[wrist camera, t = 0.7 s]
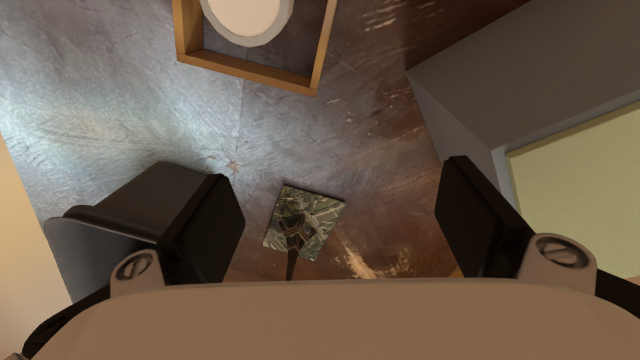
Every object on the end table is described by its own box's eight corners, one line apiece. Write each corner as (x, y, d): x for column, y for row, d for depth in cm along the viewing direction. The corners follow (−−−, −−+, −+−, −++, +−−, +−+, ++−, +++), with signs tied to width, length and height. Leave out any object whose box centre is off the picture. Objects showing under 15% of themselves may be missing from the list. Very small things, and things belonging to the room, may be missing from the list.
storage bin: (217, 257, 47) (178, 340, 35) (131, 233, 44) (58, 314, 33) (238, 171, 35) (190, 252, 24) (123, 131, 33) (4, 201, 21)
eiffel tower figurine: (315, 259, 46) (309, 338, 35) (262, 245, 44) (237, 323, 33) (346, 201, 37) (351, 281, 26) (282, 181, 36) (258, 257, 25)
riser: (557, -15, 22) (1014, -63, 7) (566, 116, 28) (814, 234, 14) (405, 71, 27) (490, 150, 12) (442, 167, 33) (527, 295, 18)
